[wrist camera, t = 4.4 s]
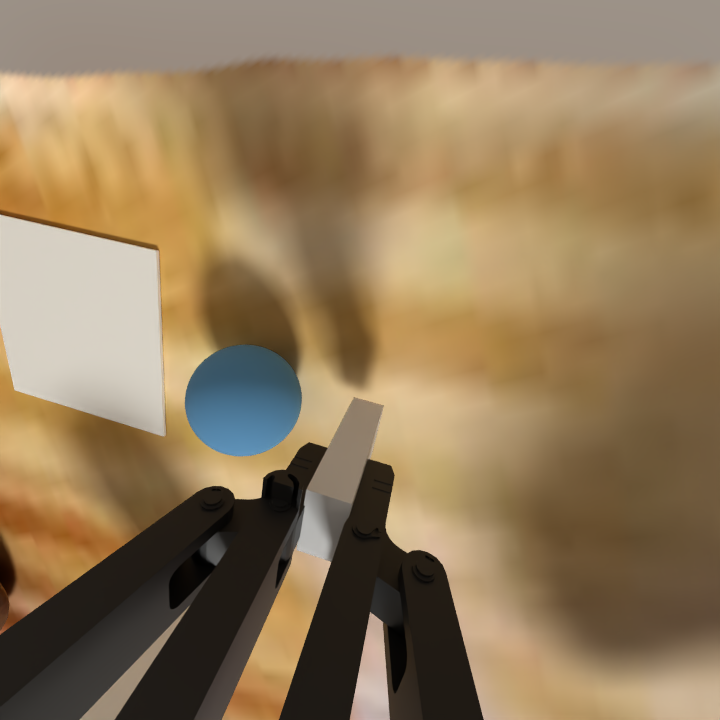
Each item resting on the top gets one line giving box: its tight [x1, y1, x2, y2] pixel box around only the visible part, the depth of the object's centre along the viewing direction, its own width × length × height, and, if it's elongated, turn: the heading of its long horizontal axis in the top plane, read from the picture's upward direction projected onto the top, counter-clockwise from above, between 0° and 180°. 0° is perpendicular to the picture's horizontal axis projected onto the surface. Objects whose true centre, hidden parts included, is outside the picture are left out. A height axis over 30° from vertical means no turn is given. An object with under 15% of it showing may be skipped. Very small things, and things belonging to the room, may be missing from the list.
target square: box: [0, 214, 166, 437], centre depth 22 cm, size 12×12×1 cm
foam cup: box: [80, 607, 189, 720], centre depth 23 cm, size 10×9×13 cm
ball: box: [185, 345, 302, 456], centre depth 18 cm, size 6×6×6 cm
